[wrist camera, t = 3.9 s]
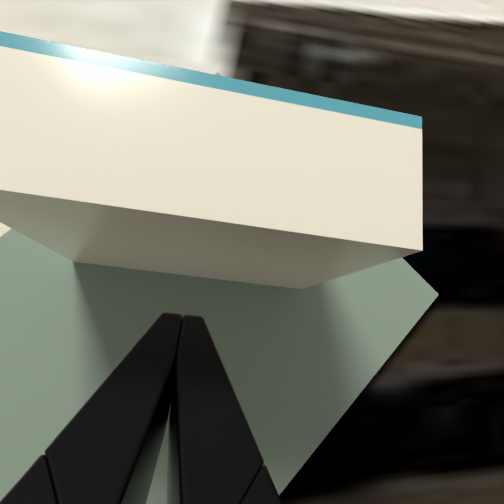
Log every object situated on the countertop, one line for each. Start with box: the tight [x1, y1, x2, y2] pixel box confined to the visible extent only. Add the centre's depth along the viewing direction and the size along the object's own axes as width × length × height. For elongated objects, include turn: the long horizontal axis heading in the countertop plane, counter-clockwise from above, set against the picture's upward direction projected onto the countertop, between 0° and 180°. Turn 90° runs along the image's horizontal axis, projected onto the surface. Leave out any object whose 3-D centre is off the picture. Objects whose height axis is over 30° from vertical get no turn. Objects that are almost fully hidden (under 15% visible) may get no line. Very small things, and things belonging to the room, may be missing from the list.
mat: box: [0, 73, 439, 504], centre depth 14 cm, size 14×17×1 cm
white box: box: [0, 31, 423, 289], centre depth 11 cm, size 3×9×8 cm, turn 84°
